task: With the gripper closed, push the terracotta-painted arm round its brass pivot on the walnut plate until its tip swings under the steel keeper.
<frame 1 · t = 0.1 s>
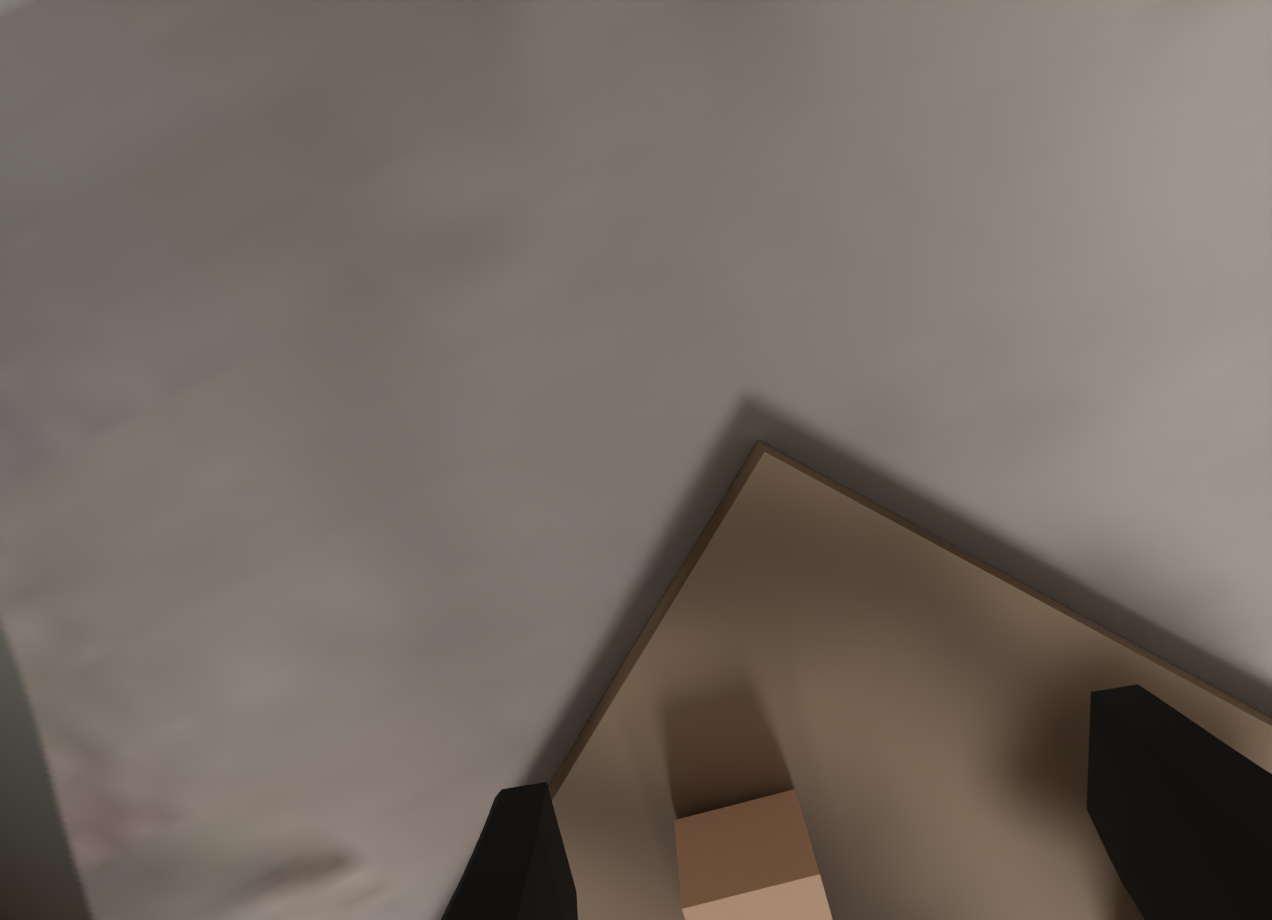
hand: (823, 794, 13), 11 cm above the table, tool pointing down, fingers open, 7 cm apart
walnut plate: (839, 911, 26), on the table
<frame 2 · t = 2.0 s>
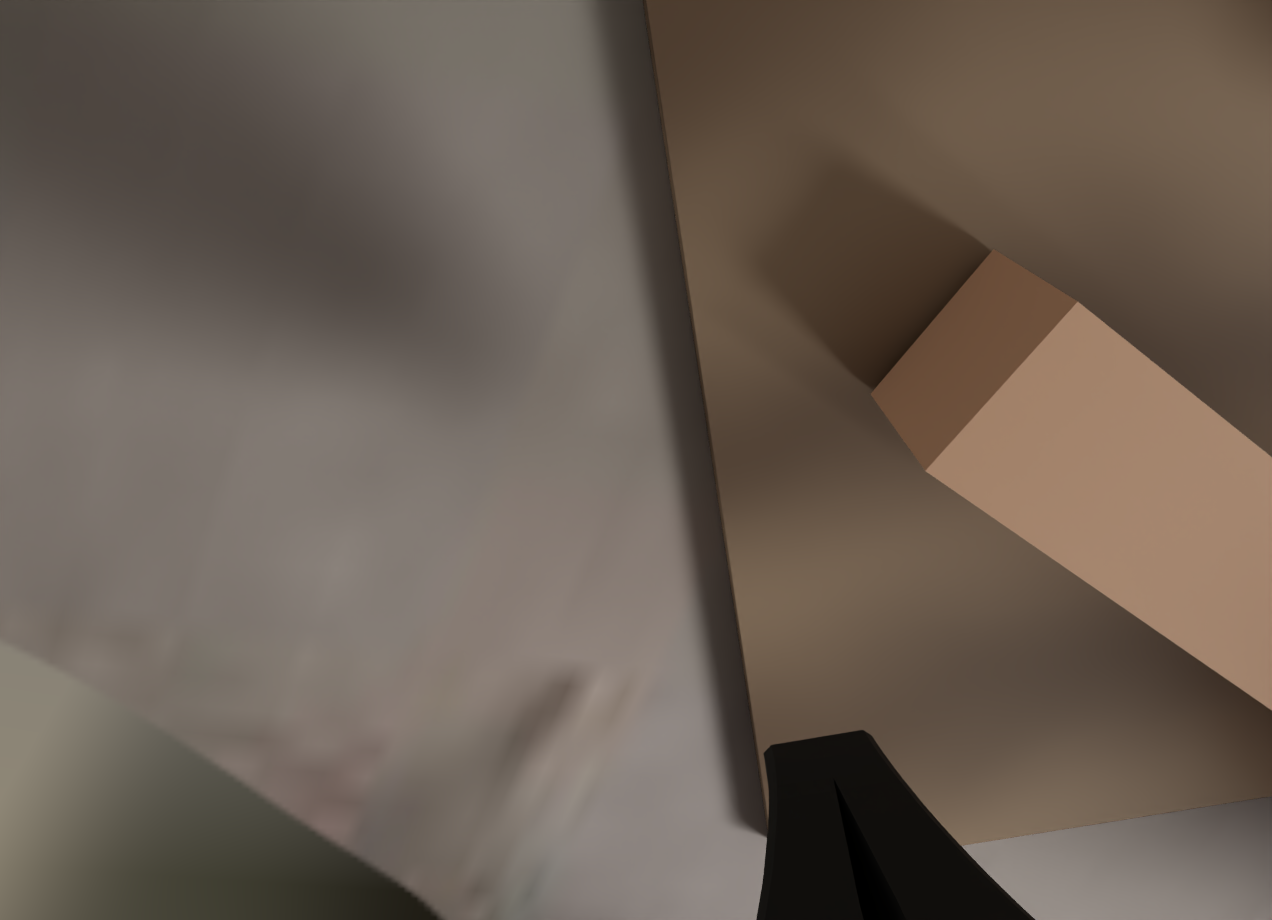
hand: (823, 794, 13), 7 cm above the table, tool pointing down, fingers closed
walnut plate: (1166, 371, 18), on the table
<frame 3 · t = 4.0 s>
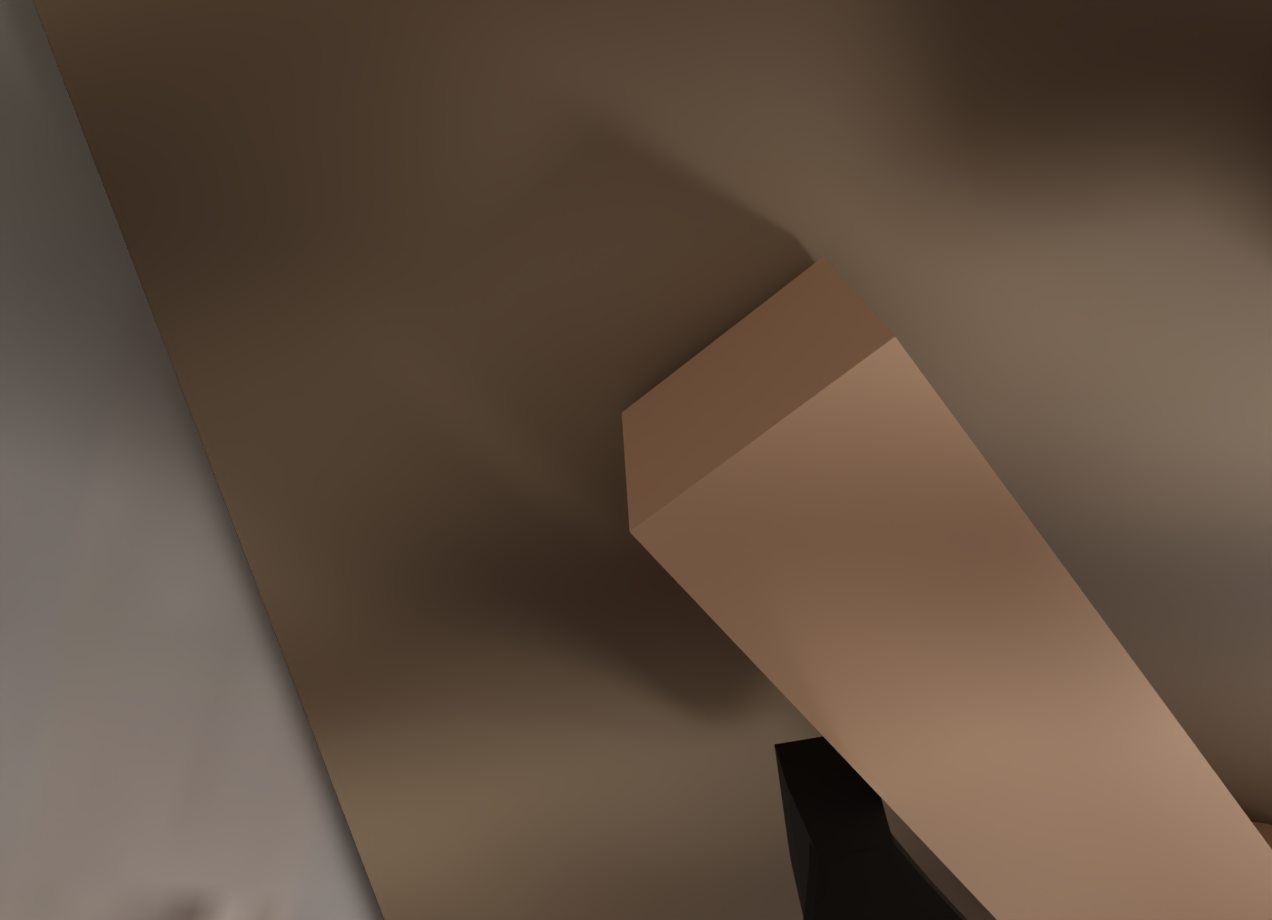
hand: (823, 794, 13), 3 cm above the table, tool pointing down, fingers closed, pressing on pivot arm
walnut plate: (878, 561, 15), on the table
pivot arm: (1095, 822, 13), point 3 cm above the table, hinge at 29.8°, touching gripper
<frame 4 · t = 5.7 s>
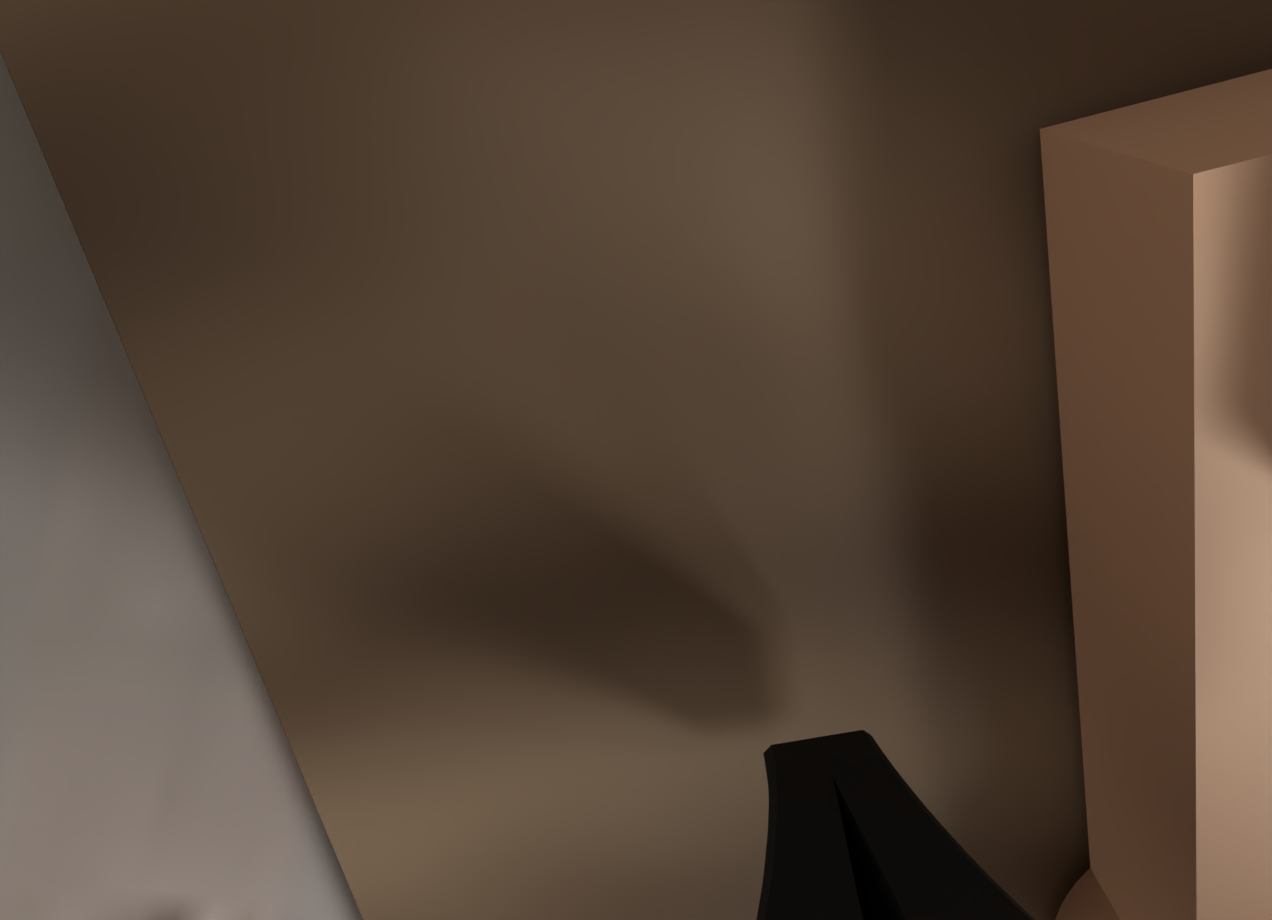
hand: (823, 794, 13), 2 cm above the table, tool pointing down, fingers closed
walnut plate: (859, 559, 15), on the table
pivot arm: (1269, 747, 12), point 3 cm above the table, hinge at 4.0°
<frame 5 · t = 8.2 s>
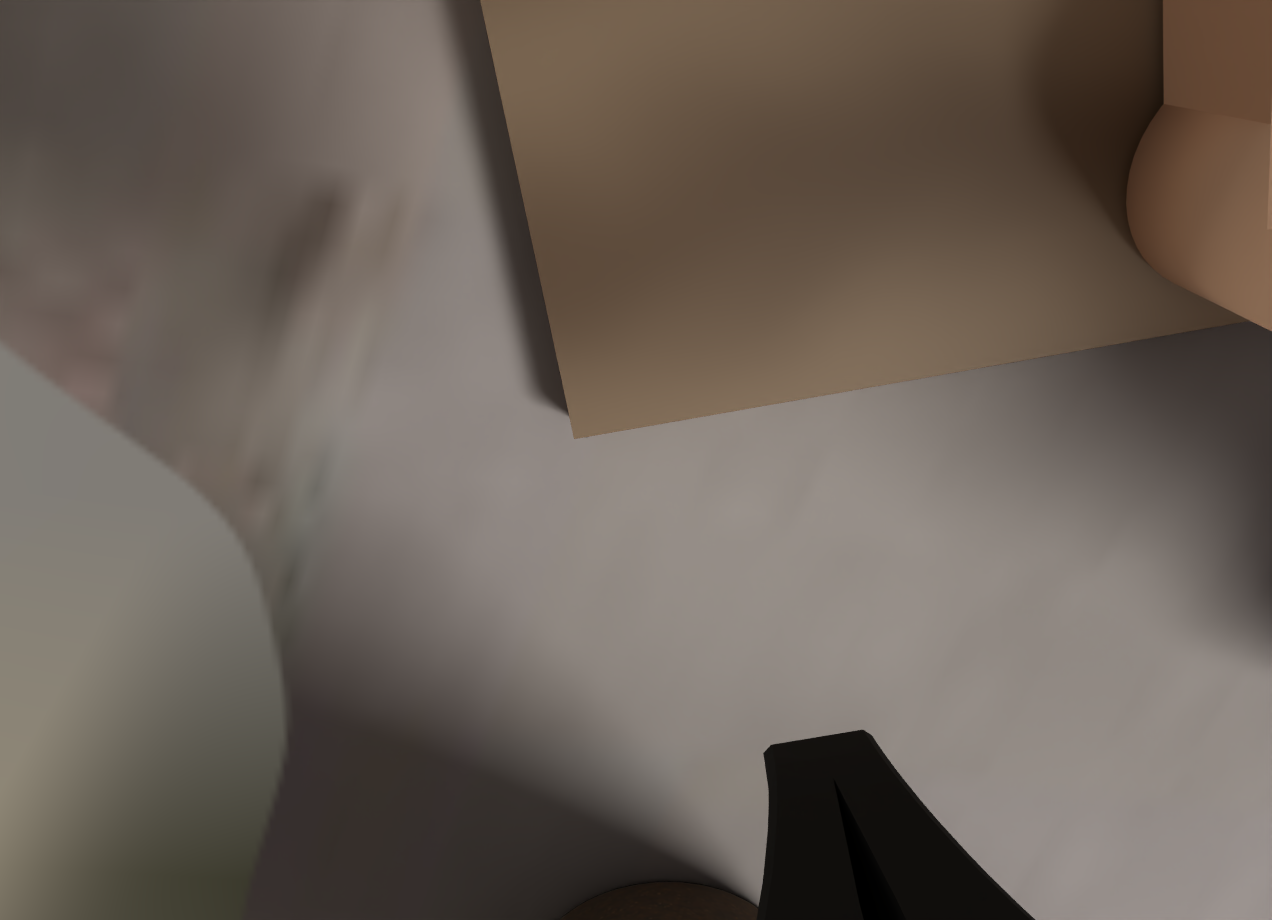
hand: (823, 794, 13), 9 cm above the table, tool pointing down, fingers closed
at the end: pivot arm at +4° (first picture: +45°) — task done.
